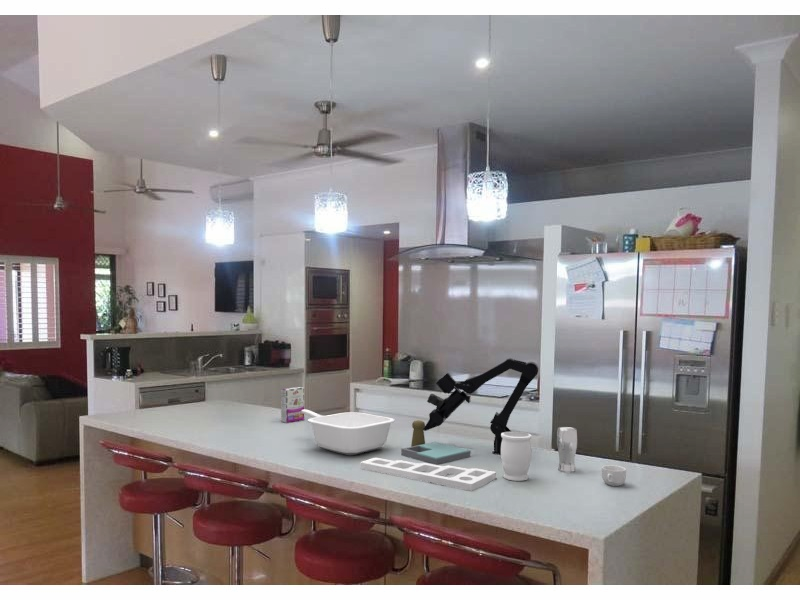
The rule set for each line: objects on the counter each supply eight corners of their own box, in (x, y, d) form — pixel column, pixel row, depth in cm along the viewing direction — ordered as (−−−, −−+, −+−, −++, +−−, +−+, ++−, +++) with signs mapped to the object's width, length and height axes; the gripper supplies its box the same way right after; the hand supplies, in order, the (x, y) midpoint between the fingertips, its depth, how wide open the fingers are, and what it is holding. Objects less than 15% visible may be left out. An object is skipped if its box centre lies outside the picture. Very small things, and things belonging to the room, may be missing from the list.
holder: (359, 469, 226) (360, 462, 226) (389, 459, 241) (389, 452, 241) (471, 492, 201) (471, 484, 201) (496, 479, 215) (496, 472, 215)
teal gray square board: (470, 456, 245) (470, 450, 245) (436, 464, 233) (436, 457, 233) (435, 447, 259) (435, 441, 259) (401, 455, 247) (401, 448, 247)
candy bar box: (298, 419, 320) (298, 386, 320) (304, 420, 316) (304, 387, 316) (280, 421, 311) (280, 388, 311) (286, 423, 308) (287, 389, 308)
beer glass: (577, 469, 229) (577, 427, 229) (576, 473, 222) (576, 431, 222) (557, 467, 231) (558, 426, 231) (555, 472, 224) (556, 429, 224)
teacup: (606, 479, 215) (606, 463, 215) (629, 483, 211) (629, 467, 211) (596, 486, 207) (596, 469, 207) (619, 490, 203) (619, 474, 203)
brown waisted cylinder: (413, 445, 264) (413, 419, 264) (427, 446, 262) (427, 420, 262) (409, 448, 258) (409, 421, 258) (423, 449, 256) (423, 422, 256)
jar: (531, 483, 210) (531, 438, 210) (499, 481, 212) (500, 436, 212) (531, 474, 220) (531, 431, 220) (501, 473, 222) (501, 430, 222)
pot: (349, 462, 235) (350, 428, 235) (276, 443, 264) (276, 413, 264) (400, 449, 256) (400, 418, 256) (327, 433, 285) (327, 405, 285)
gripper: (443, 384, 267) (417, 409, 269) (434, 390, 249) (407, 417, 251) (461, 404, 265) (435, 429, 267) (454, 411, 247) (426, 438, 249)
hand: (426, 427), depth 259 cm, fingers open, 9 cm apart
